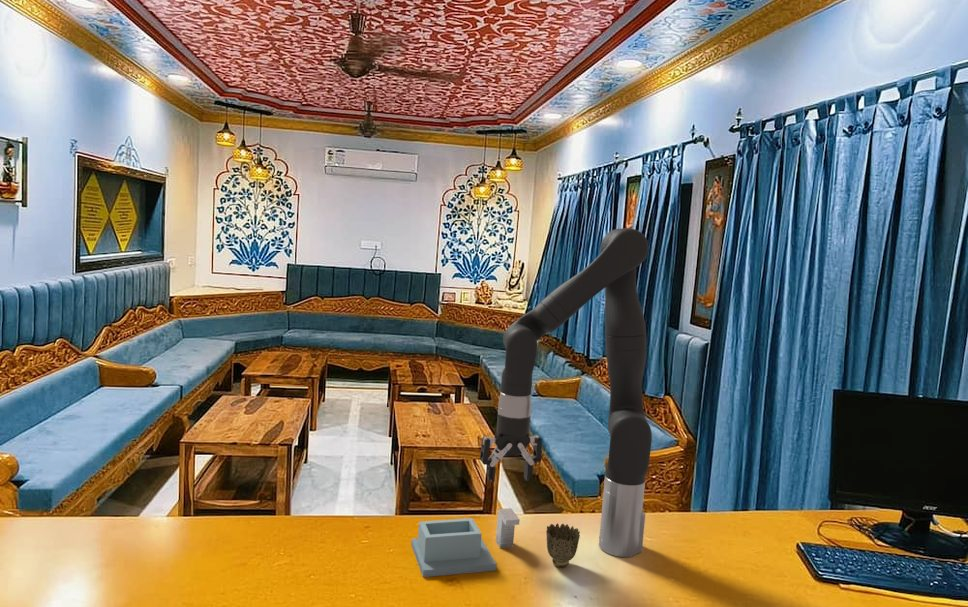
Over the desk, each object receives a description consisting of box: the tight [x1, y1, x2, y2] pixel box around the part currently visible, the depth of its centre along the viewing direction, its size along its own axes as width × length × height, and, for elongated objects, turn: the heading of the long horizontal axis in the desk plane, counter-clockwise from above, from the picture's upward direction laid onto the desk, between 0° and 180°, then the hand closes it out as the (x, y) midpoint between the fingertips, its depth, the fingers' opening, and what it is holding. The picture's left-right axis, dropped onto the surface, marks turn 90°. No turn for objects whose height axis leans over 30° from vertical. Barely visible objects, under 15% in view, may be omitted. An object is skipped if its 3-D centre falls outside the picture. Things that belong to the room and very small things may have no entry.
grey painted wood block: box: [495, 507, 520, 549], centre depth 149 cm, size 3×6×8 cm, turn 16°
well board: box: [410, 517, 497, 578], centre depth 143 cm, size 16×14×7 cm
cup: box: [546, 523, 581, 569], centre depth 142 cm, size 8×7×8 cm
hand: (509, 480), depth 149 cm, fingers open, 8 cm apart
